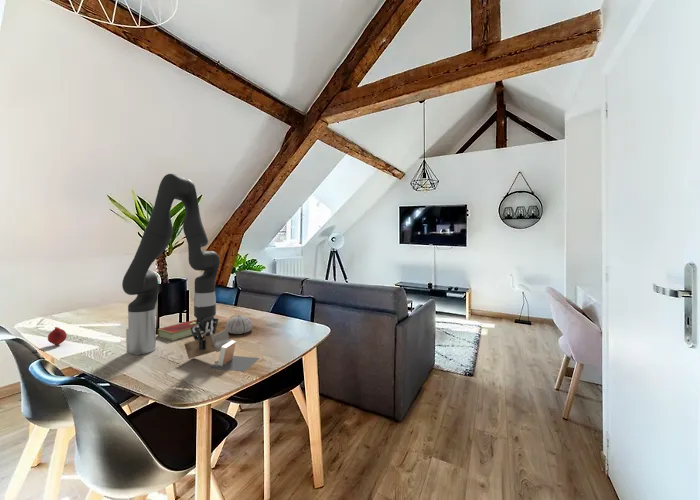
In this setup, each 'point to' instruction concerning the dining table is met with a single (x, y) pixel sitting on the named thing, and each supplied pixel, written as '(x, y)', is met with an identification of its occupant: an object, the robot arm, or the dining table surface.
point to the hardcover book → (177, 330)
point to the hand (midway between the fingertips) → (205, 348)
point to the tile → (226, 352)
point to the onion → (57, 336)
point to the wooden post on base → (207, 344)
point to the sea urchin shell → (238, 325)
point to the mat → (236, 364)
